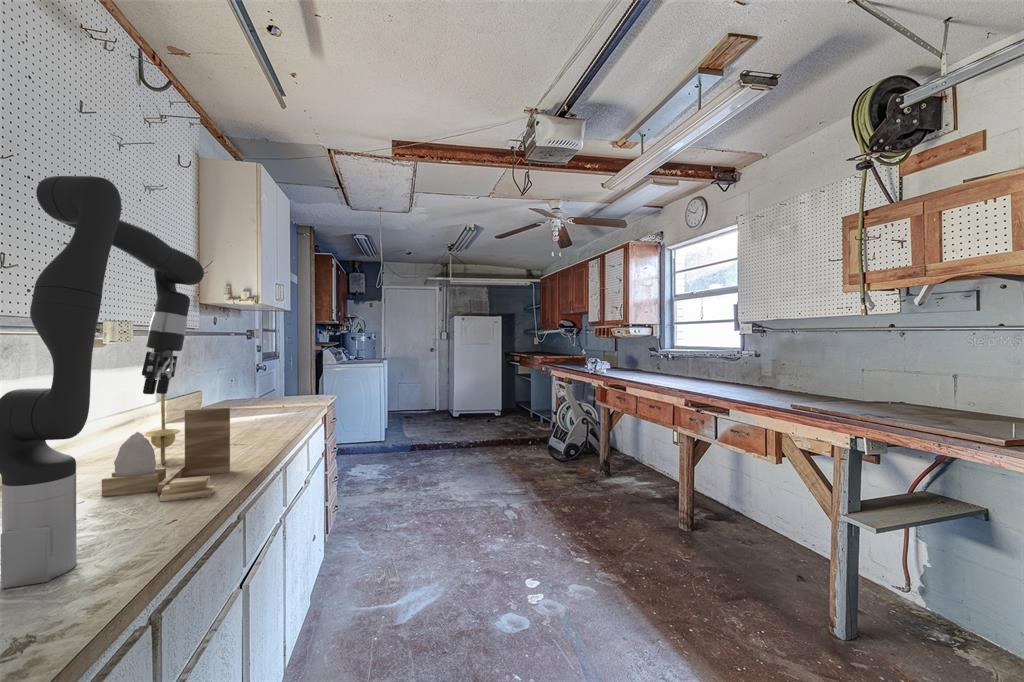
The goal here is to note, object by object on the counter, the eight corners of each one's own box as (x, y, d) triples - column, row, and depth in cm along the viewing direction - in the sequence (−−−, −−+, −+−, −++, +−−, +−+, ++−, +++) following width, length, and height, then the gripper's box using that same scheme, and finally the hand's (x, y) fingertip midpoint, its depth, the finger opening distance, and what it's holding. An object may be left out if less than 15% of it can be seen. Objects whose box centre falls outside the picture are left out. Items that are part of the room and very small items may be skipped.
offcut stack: (210, 496, 119) (210, 479, 119) (159, 501, 115) (159, 484, 115) (214, 490, 123) (214, 474, 123) (166, 495, 119) (166, 478, 119)
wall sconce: (145, 460, 152) (145, 386, 151) (180, 456, 157) (180, 385, 157) (142, 470, 141) (142, 391, 140) (180, 465, 146) (180, 389, 146)
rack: (215, 490, 124) (215, 418, 123) (157, 496, 119) (157, 421, 119) (230, 470, 141) (230, 407, 141) (180, 475, 136) (180, 409, 136)
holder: (157, 491, 123) (157, 474, 123) (101, 496, 118) (101, 479, 118) (166, 483, 129) (166, 467, 129) (113, 487, 125) (113, 471, 125)
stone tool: (112, 491, 120) (112, 435, 120) (115, 487, 123) (115, 433, 122) (155, 485, 125) (155, 431, 124) (157, 482, 127) (157, 429, 127)
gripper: (160, 332, 122) (148, 392, 120) (138, 326, 109) (124, 392, 107) (192, 336, 125) (181, 394, 122) (175, 330, 111) (162, 395, 109)
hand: (155, 393), depth 115 cm, fingers open, 8 cm apart
